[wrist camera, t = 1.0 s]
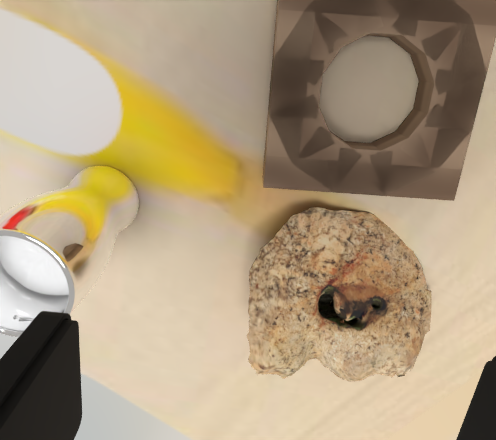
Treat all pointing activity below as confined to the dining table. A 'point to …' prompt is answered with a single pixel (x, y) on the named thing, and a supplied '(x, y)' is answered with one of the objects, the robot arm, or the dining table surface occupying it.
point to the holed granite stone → (337, 298)
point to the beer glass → (61, 244)
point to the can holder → (417, 122)
